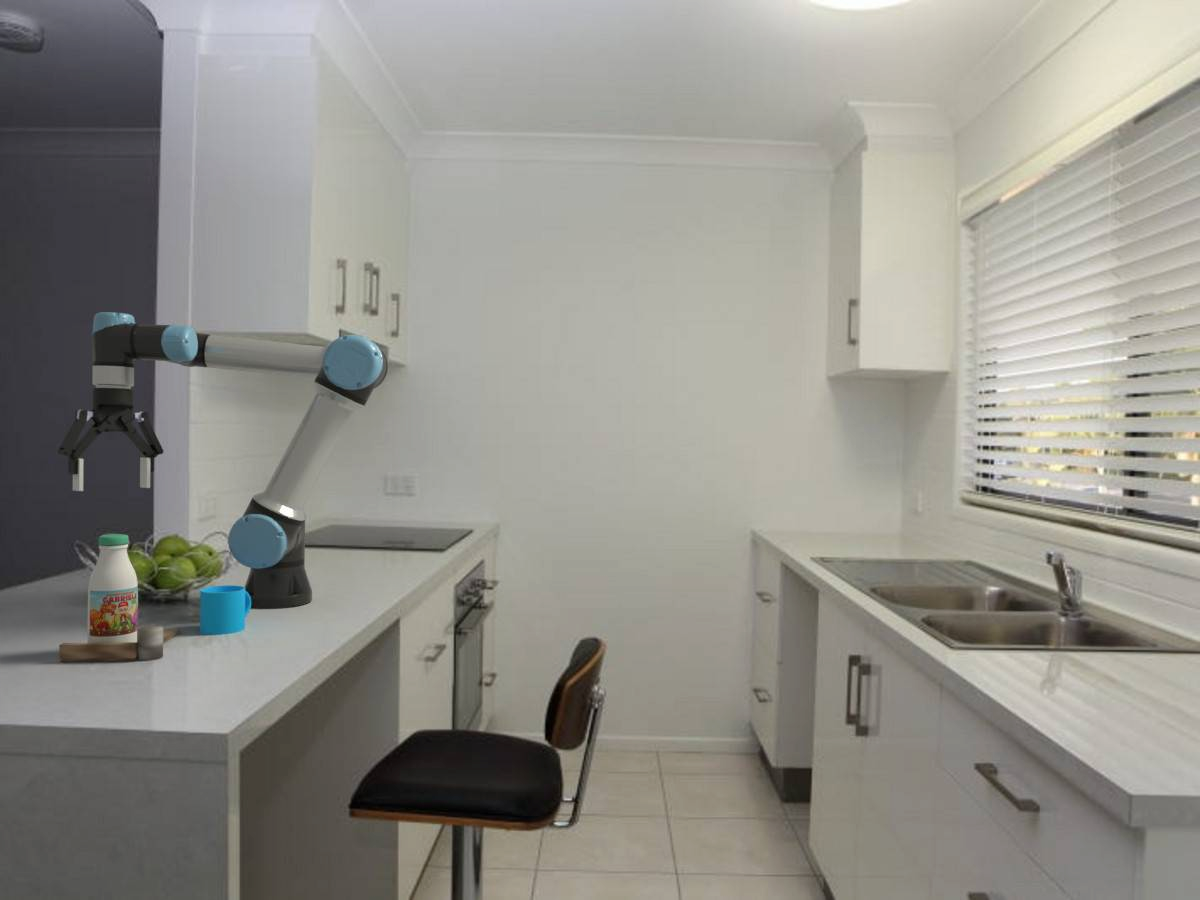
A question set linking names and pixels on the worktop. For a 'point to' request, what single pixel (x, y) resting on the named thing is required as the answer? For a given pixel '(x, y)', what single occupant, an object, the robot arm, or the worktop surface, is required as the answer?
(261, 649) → the worktop surface
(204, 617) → the mug
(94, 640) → the milk bottle
